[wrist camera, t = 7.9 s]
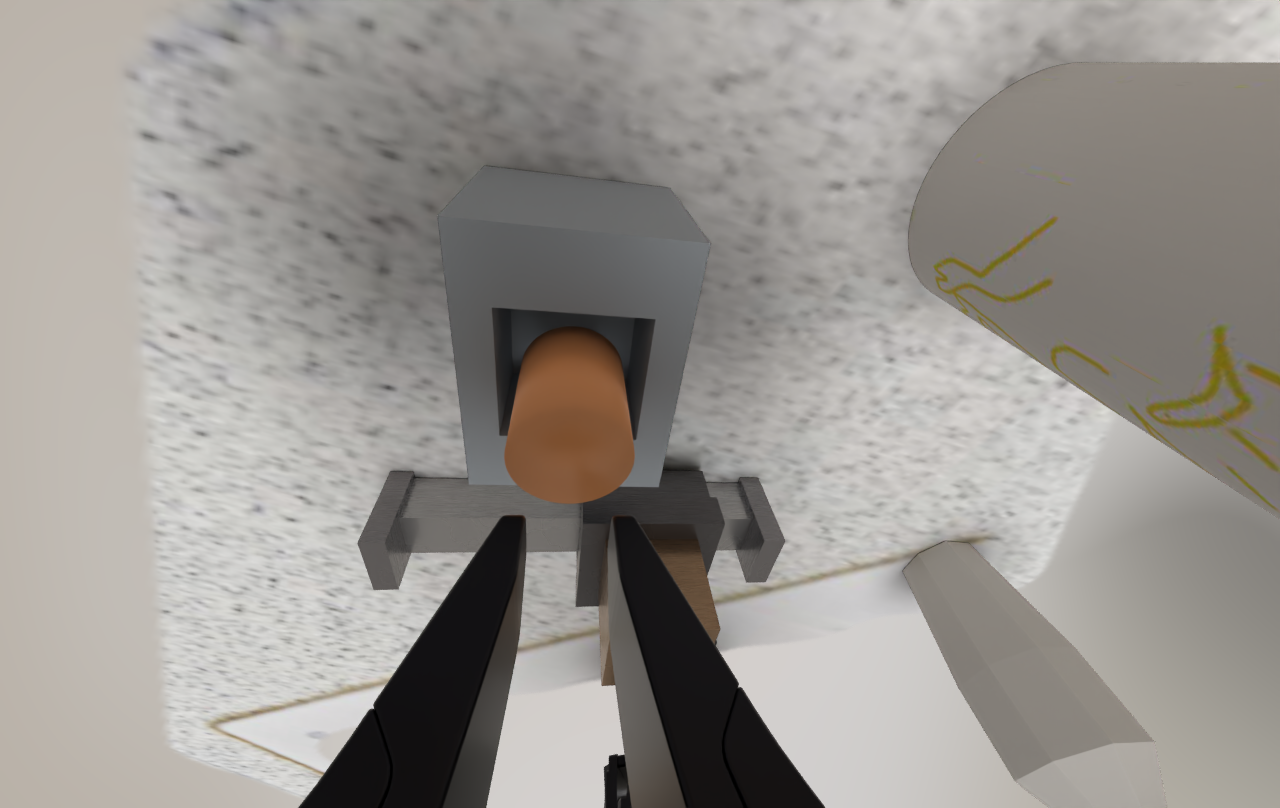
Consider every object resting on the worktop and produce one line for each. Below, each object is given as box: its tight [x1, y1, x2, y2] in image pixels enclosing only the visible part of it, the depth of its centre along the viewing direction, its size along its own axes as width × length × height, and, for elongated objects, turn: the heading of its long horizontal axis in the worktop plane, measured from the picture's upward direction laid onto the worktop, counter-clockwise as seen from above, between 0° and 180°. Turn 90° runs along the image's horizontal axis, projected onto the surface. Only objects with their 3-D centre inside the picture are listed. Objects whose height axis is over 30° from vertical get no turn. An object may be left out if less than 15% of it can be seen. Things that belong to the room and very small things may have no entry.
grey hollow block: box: [437, 166, 711, 487], centre depth 15 cm, size 8×6×6 cm
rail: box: [358, 471, 785, 590], centre depth 22 cm, size 3×18×4 cm, turn 83°
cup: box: [908, 63, 1280, 519], centre depth 12 cm, size 8×8×12 cm
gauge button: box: [504, 326, 635, 504], centre depth 12 cm, size 3×3×4 cm
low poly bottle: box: [903, 541, 1167, 808], centre depth 22 cm, size 6×6×22 cm
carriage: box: [576, 470, 725, 686], centre depth 21 cm, size 6×6×8 cm
